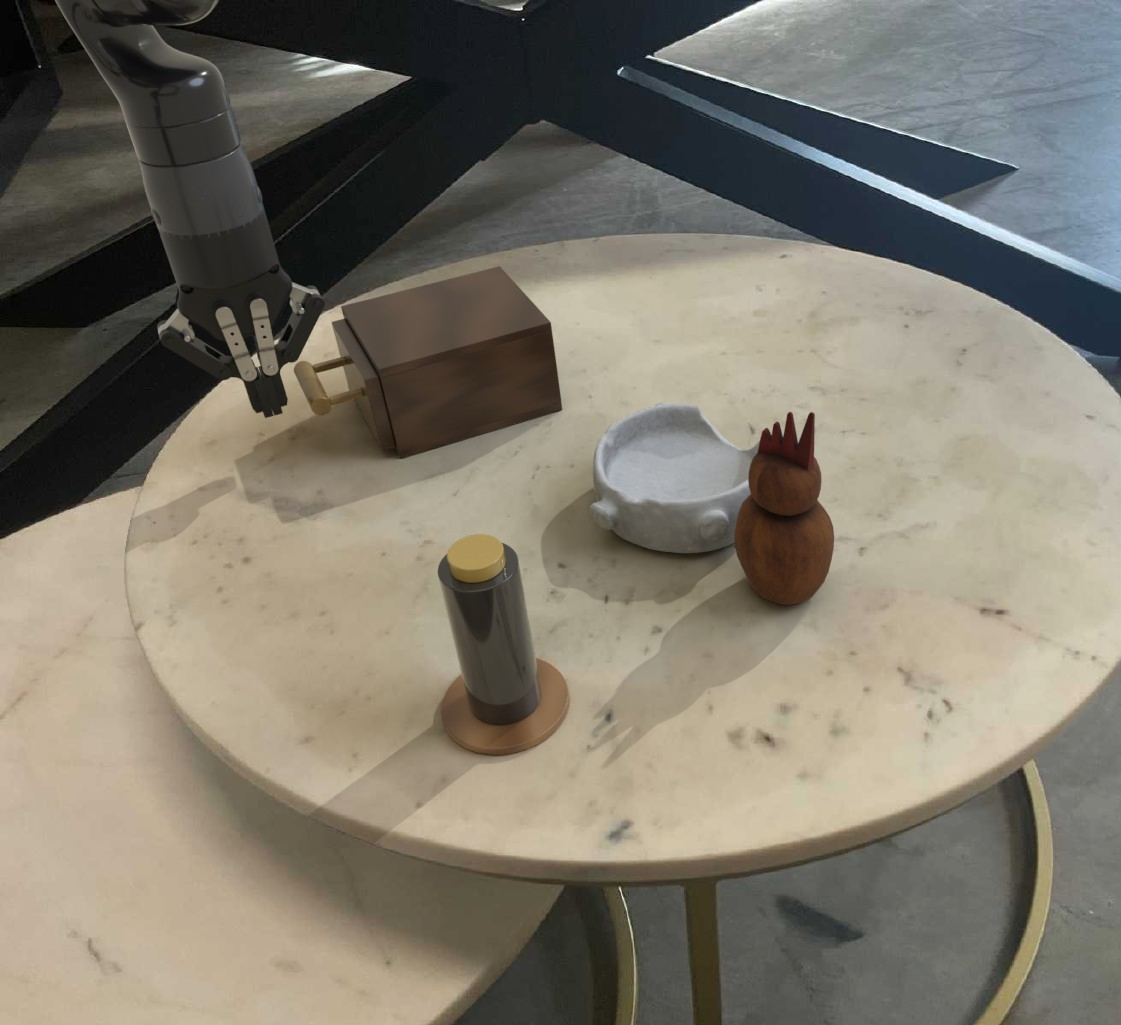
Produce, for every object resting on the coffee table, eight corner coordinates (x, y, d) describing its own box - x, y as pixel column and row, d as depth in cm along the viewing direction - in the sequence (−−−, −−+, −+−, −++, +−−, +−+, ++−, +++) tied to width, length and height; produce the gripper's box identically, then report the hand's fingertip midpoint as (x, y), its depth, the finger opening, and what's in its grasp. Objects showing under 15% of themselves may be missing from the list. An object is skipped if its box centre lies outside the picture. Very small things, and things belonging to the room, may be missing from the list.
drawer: (330, 466, 93) (309, 395, 88) (301, 402, 101) (280, 334, 97) (534, 405, 99) (523, 335, 94) (491, 349, 107) (479, 283, 103)
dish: (647, 437, 95) (643, 386, 92) (801, 476, 90) (802, 423, 87) (555, 537, 85) (546, 483, 82) (721, 587, 80) (719, 531, 77)
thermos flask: (482, 736, 69) (448, 588, 62) (459, 687, 73) (424, 542, 65) (552, 708, 71) (527, 560, 63) (526, 662, 74) (499, 517, 67)
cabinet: (400, 459, 95) (378, 369, 89) (362, 391, 104) (340, 306, 98) (562, 410, 99) (551, 322, 94) (513, 349, 108) (500, 265, 103)
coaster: (466, 774, 68) (464, 767, 67) (427, 688, 73) (425, 682, 73) (589, 724, 70) (588, 717, 70) (542, 645, 76) (541, 638, 76)
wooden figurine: (847, 595, 79) (857, 412, 69) (781, 630, 76) (782, 445, 67) (786, 546, 83) (788, 368, 74) (722, 578, 81) (716, 397, 72)
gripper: (290, 176, 88) (341, 370, 98) (109, 212, 84) (182, 412, 94) (310, 208, 83) (362, 410, 93) (118, 249, 78) (194, 457, 89)
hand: (271, 411), depth 94 cm, fingers closed
